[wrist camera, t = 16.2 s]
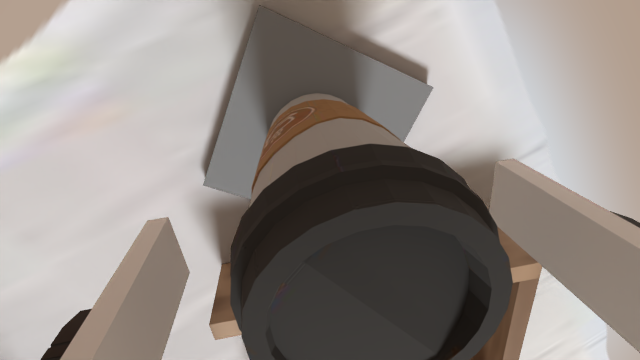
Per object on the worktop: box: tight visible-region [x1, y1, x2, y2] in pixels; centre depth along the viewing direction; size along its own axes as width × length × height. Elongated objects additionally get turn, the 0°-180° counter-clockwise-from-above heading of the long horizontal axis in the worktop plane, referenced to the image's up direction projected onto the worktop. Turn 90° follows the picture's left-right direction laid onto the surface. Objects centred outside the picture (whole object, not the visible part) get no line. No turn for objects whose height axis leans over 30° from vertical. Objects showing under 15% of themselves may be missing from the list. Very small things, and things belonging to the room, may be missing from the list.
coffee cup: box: [230, 93, 513, 360], centre depth 15 cm, size 8×8×15 cm
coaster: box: [203, 5, 433, 199], centre depth 22 cm, size 12×12×1 cm
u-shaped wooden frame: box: [209, 227, 542, 360], centre depth 29 cm, size 24×17×6 cm
